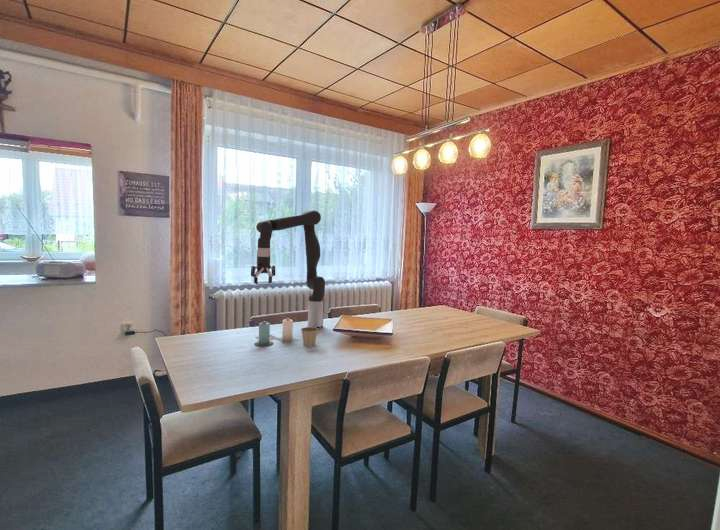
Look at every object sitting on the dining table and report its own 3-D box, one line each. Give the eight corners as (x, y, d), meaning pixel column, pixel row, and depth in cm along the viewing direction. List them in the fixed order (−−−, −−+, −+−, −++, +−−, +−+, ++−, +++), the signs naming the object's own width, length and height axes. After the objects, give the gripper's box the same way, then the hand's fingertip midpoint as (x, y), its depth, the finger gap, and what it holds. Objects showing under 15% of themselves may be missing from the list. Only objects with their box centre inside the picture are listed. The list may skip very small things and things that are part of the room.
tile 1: (270, 335, 204) (270, 334, 204) (278, 339, 197) (278, 338, 197) (254, 338, 197) (254, 337, 197) (262, 342, 190) (262, 341, 190)
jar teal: (266, 341, 190) (267, 319, 189) (271, 344, 186) (271, 322, 185) (256, 343, 187) (257, 321, 186) (261, 345, 183) (261, 323, 182)
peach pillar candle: (289, 337, 200) (289, 317, 199) (294, 340, 195) (294, 319, 194) (280, 339, 196) (280, 318, 195) (285, 341, 192) (285, 320, 191)
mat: (268, 340, 193) (268, 339, 193) (277, 345, 186) (277, 344, 186) (251, 344, 187) (251, 342, 187) (259, 349, 179) (259, 347, 179)
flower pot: (298, 343, 192) (298, 327, 192) (314, 341, 196) (315, 326, 196) (303, 348, 184) (303, 332, 183) (320, 346, 188) (320, 330, 187)
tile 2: (290, 337, 203) (290, 336, 203) (299, 341, 195) (299, 340, 195) (274, 339, 196) (274, 338, 196) (283, 344, 189) (283, 343, 189)
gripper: (254, 256, 195) (254, 285, 196) (278, 256, 204) (277, 283, 205) (249, 255, 200) (248, 283, 201) (271, 255, 210) (271, 282, 211)
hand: (263, 283), depth 203 cm, fingers open, 8 cm apart
